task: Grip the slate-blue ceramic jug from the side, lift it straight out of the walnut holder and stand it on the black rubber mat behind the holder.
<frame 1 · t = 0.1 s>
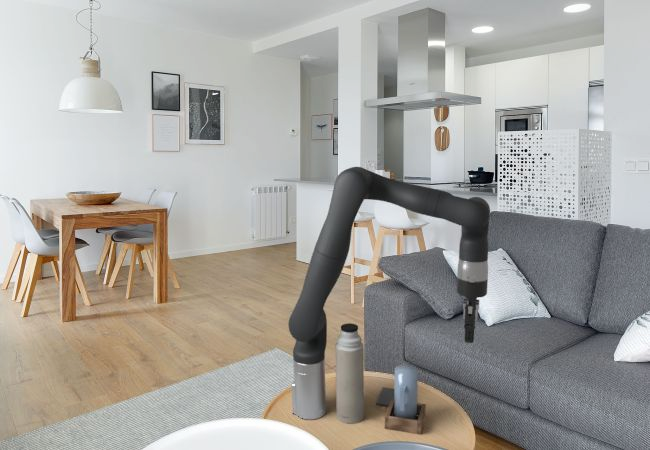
hand: (469, 335, 136), 29 cm above the table, tool pointing down, fingers open, 8 cm apart
jug: (404, 398, 146), in the holder
mat: (395, 398, 161), on the table
holder: (405, 421, 149), on the table
thermos bottle: (350, 416, 152), on the table
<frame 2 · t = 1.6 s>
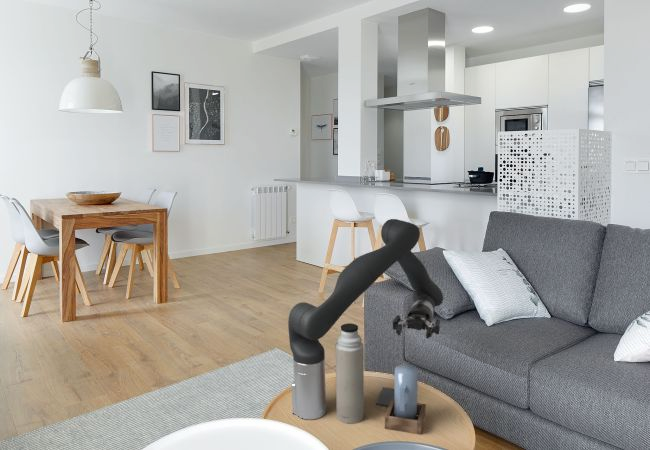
hand: (412, 333, 155), 22 cm above the table, tool horizontal, fingers open, 8 cm apart
nothing on the table moved.
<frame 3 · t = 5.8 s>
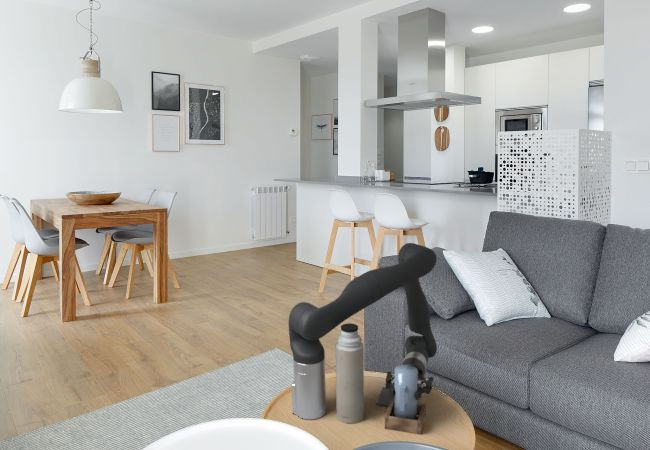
hand: (404, 395, 145), 10 cm above the table, tool horizontal, fingers closed on jug, 6 cm apart
jug: (404, 398, 146), in the holder, touching gripper
everything else where it was.
when the fingers open (11 cm above the table, at t = 10.6 s): jug drops 1 cm, resting on mat.
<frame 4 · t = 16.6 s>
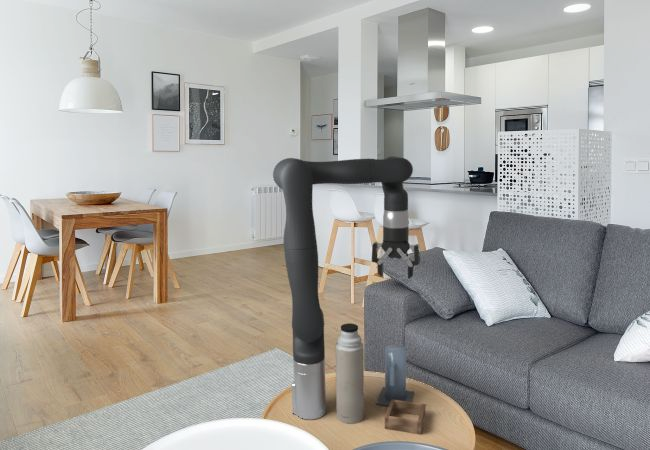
hand: (395, 276, 157), 38 cm above the table, tool pointing down, fingers open, 8 cm apart
jug: (394, 375, 158), on the mat, point 9 cm above the table
everything else where it was.
at the end: jug inside the target area on the mat (0.1 cm from its centre), point 8.6 cm above the mat's base; jug tilted 0°; jug touching mat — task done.
